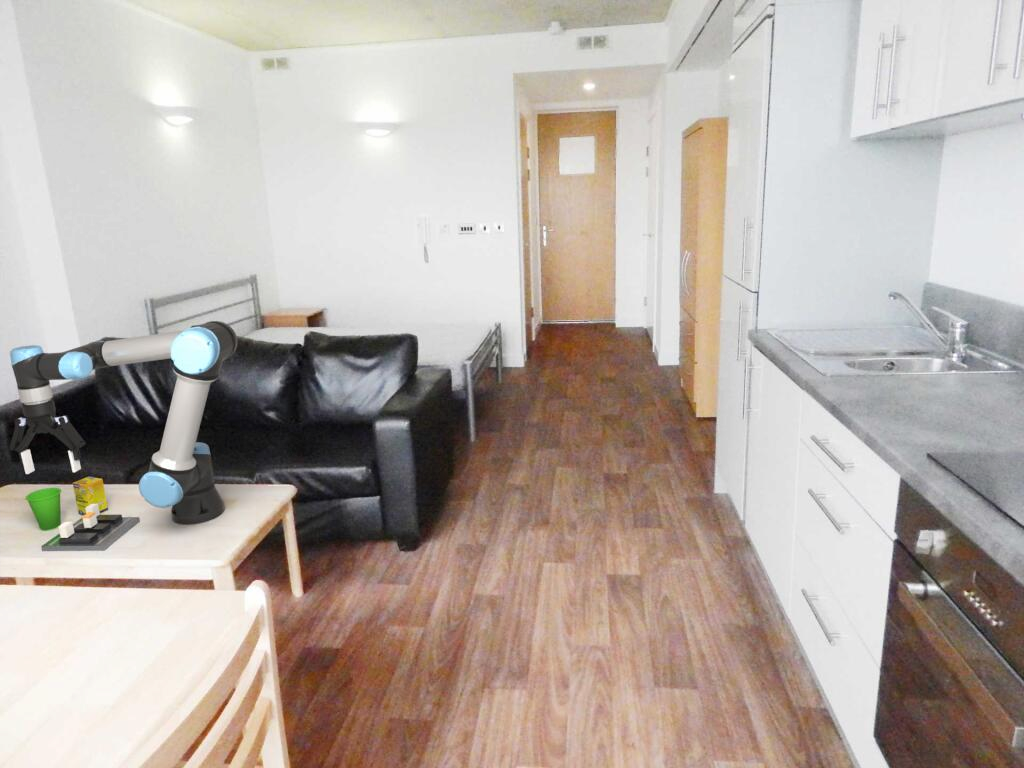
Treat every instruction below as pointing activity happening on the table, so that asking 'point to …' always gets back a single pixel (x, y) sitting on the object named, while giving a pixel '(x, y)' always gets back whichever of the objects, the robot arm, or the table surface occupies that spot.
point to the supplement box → (90, 494)
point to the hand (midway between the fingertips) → (53, 471)
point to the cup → (46, 507)
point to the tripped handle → (89, 519)
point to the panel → (92, 546)
